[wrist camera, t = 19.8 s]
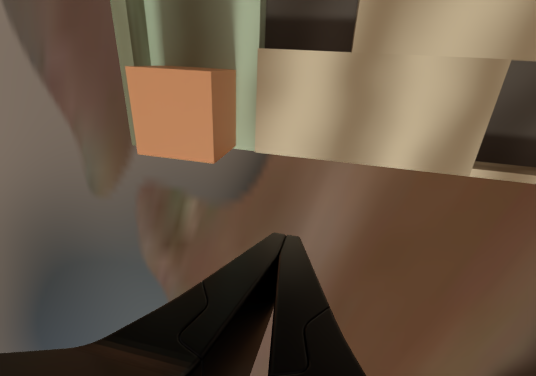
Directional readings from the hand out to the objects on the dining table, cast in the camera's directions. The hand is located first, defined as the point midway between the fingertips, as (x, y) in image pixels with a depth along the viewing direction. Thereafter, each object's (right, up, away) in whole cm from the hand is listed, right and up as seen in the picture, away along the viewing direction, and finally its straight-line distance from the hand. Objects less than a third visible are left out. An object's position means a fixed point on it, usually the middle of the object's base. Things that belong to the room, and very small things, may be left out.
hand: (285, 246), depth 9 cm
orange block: (-5, +7, +11) cm, 14 cm away
